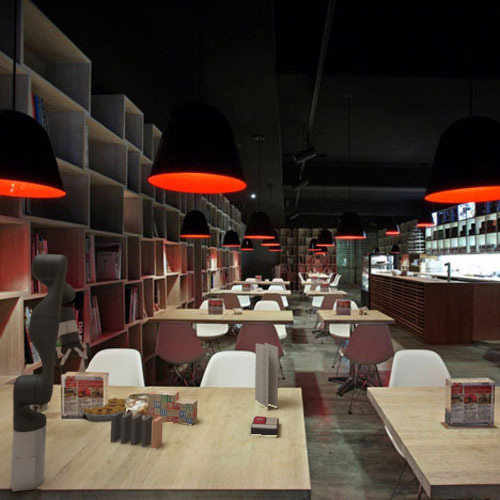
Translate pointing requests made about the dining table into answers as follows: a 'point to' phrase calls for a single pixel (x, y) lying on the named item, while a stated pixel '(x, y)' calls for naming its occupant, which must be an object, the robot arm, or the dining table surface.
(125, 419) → the domino
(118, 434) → the domino
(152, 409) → the stack of blocks
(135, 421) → the domino
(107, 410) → the berry pie
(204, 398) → the dining table surface
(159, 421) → the end domino
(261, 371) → the brochure
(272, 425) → the book
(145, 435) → the domino
